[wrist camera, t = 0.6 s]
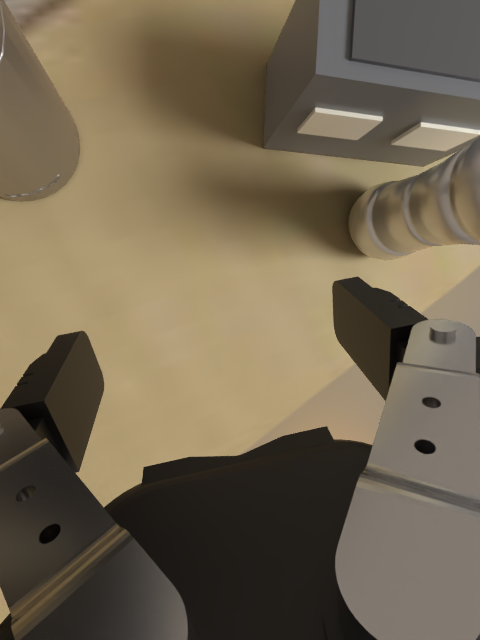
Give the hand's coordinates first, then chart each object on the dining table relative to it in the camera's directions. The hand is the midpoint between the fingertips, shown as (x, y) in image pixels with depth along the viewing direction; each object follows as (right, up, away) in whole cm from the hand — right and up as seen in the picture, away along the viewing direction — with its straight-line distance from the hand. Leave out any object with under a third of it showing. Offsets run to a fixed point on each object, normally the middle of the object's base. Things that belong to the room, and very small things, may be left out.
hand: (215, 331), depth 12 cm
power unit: (+11, +19, +22) cm, 31 cm away
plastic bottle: (+13, +9, +24) cm, 29 cm away
